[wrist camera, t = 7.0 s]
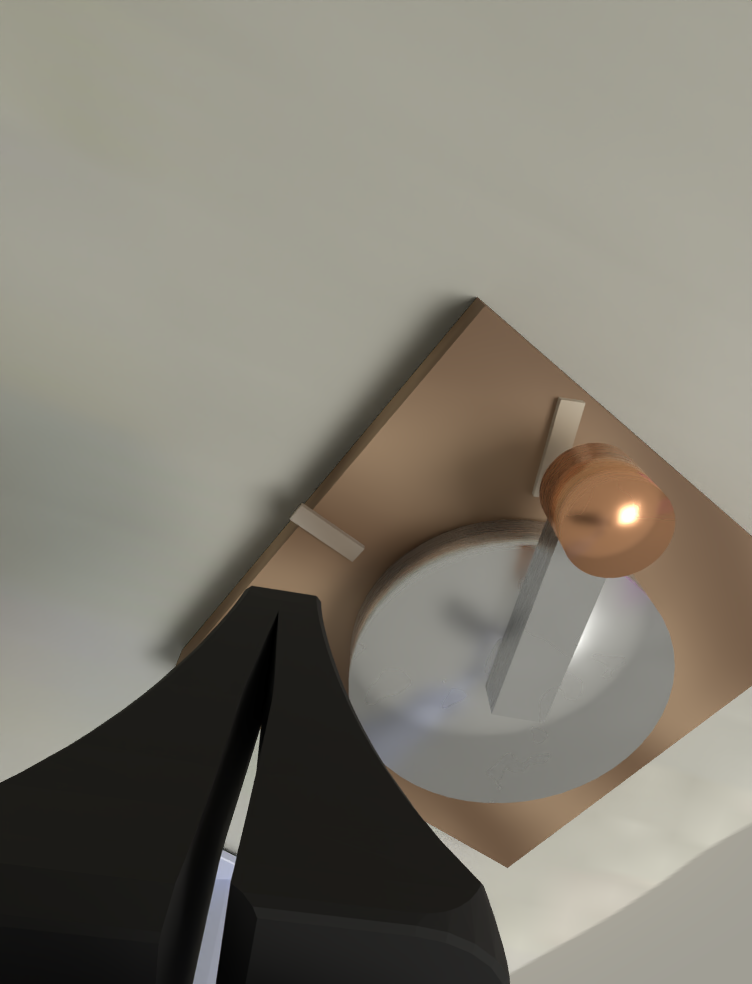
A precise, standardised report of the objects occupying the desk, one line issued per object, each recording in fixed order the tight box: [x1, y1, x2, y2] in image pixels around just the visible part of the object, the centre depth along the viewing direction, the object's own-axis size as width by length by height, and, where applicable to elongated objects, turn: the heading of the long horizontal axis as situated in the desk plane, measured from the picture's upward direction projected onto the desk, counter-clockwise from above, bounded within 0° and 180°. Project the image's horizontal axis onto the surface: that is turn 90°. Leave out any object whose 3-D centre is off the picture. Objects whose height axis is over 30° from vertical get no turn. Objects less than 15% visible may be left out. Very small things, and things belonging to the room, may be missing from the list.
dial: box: [349, 443, 675, 803], centre depth 19 cm, size 13×10×4 cm
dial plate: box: [175, 297, 752, 868], centre depth 22 cm, size 16×16×2 cm
